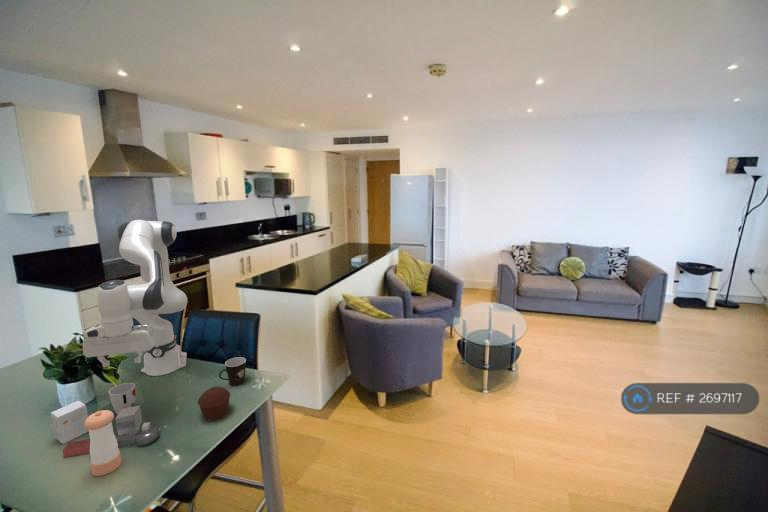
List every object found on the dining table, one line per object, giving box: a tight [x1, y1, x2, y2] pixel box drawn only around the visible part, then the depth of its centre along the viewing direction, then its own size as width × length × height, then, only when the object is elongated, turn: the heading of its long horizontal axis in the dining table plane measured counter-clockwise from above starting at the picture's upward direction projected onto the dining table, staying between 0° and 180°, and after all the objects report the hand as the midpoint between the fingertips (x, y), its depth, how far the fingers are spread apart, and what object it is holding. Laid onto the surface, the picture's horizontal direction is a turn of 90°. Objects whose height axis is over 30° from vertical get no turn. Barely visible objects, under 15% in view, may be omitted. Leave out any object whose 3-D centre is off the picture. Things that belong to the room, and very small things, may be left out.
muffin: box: [197, 386, 231, 421], centre depth 131 cm, size 12×11×10 cm
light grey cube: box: [115, 405, 143, 436], centre depth 122 cm, size 6×6×7 cm
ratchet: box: [62, 421, 161, 459], centre depth 115 cm, size 7×26×6 cm, turn 107°
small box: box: [50, 400, 89, 445], centre depth 119 cm, size 8×6×10 cm
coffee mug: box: [218, 356, 247, 387], centre depth 152 cm, size 12×9×10 cm
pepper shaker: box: [84, 409, 123, 477], centre depth 104 cm, size 7×7×19 cm
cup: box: [108, 382, 136, 416], centre depth 132 cm, size 8×8×10 cm
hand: (122, 364), depth 120 cm, fingers open, 8 cm apart
